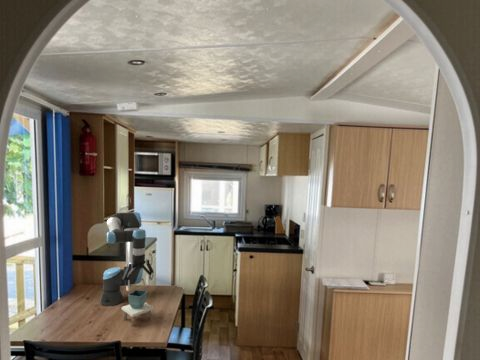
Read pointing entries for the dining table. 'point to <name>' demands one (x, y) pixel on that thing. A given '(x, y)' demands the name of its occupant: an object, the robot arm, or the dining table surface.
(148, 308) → the footstool
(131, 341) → the dining table surface
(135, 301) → the flower pot
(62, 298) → the dining table surface
